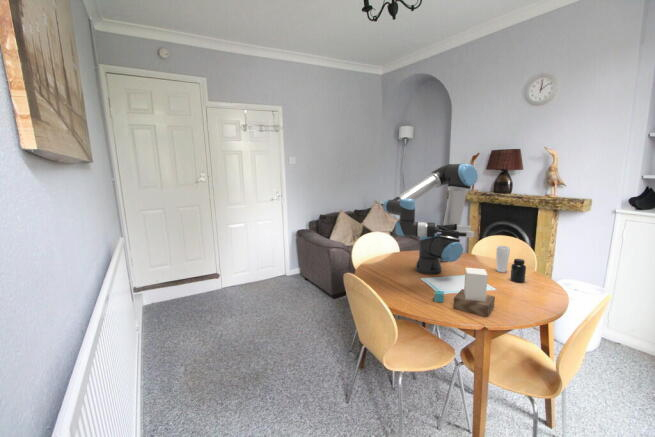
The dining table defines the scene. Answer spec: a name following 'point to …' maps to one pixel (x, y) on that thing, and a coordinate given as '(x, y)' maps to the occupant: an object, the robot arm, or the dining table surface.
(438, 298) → the teal cube
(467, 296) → the upright white rectangular block
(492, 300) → the walnut stand
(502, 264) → the drinking glass
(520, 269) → the supplement bottle
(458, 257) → the robot arm
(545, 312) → the dining table surface
